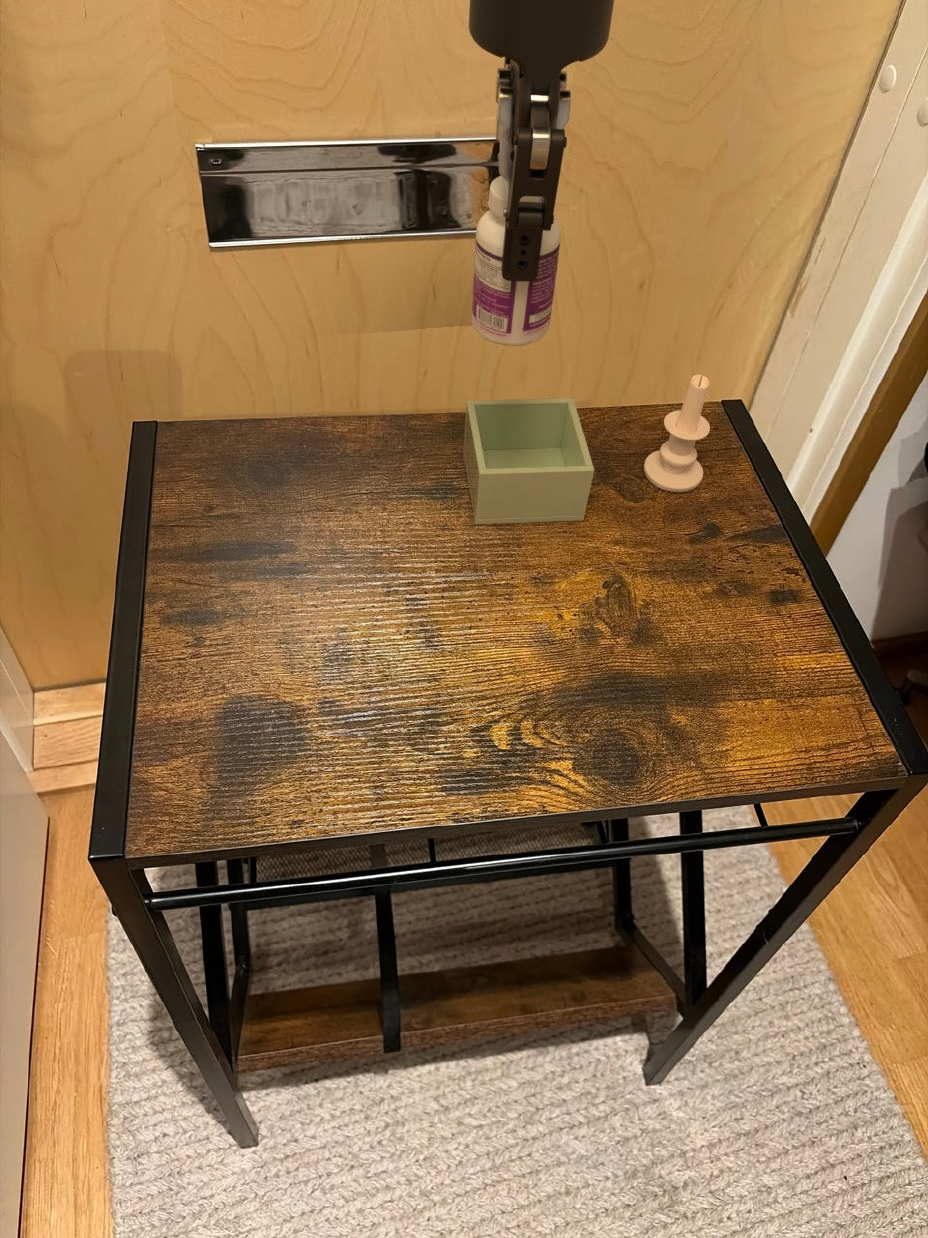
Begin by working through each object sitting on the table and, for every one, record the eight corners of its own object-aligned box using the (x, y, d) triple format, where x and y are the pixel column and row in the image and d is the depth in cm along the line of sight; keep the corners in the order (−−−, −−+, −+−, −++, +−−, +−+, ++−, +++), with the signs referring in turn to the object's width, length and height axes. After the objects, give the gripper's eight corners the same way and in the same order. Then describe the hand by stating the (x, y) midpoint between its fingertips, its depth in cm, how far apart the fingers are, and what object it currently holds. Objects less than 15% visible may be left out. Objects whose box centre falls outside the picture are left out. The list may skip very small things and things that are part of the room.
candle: (708, 492, 82) (742, 394, 74) (650, 493, 81) (678, 395, 73) (693, 452, 85) (724, 354, 77) (637, 453, 85) (662, 355, 77)
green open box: (583, 520, 79) (594, 470, 75) (474, 524, 78) (479, 473, 73) (564, 448, 85) (573, 397, 80) (462, 451, 84) (466, 400, 79)
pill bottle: (536, 301, 66) (553, 163, 59) (558, 345, 63) (579, 205, 56) (461, 308, 65) (469, 168, 58) (480, 352, 62) (491, 211, 55)
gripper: (470, -109, 51) (456, 195, 65) (477, -18, 42) (459, 314, 55) (606, -101, 52) (564, 199, 65) (642, -9, 43) (585, 319, 56)
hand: (516, 251), depth 60 cm, fingers closed on pill bottle, 5 cm apart
